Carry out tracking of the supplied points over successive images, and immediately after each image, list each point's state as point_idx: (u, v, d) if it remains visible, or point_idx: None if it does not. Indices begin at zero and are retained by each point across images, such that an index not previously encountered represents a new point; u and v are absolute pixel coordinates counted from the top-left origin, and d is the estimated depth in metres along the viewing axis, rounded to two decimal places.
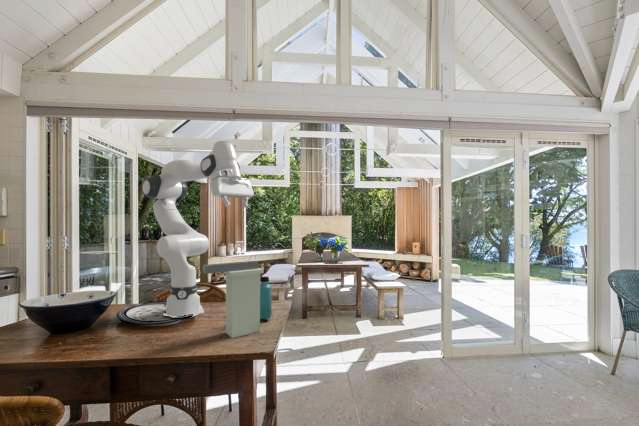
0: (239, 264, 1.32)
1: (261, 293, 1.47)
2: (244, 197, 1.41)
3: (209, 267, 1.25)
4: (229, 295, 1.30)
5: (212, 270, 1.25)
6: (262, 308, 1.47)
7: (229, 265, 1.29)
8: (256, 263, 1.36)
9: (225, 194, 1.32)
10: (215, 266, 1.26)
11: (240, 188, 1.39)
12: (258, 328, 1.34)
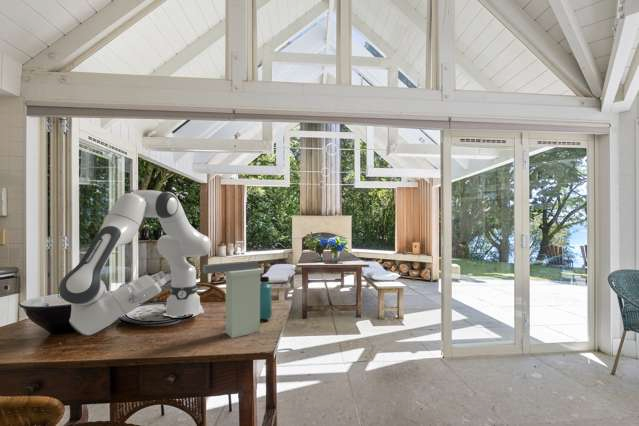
0: (239, 264, 1.32)
1: (261, 293, 1.47)
2: None
3: (209, 267, 1.25)
4: (229, 295, 1.30)
5: (212, 270, 1.25)
6: (262, 308, 1.47)
7: (229, 265, 1.29)
8: (256, 263, 1.36)
9: None
10: (215, 266, 1.26)
11: None
12: (258, 328, 1.34)
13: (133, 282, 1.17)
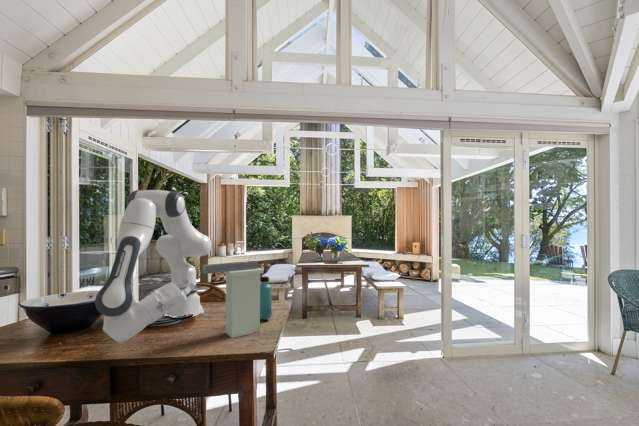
0: (239, 264, 1.32)
1: (261, 293, 1.47)
2: None
3: (209, 267, 1.25)
4: (229, 295, 1.30)
5: (212, 270, 1.25)
6: (262, 308, 1.47)
7: (229, 265, 1.29)
8: (256, 263, 1.36)
9: None
10: (215, 266, 1.26)
11: None
12: (258, 328, 1.34)
13: (159, 290, 1.23)
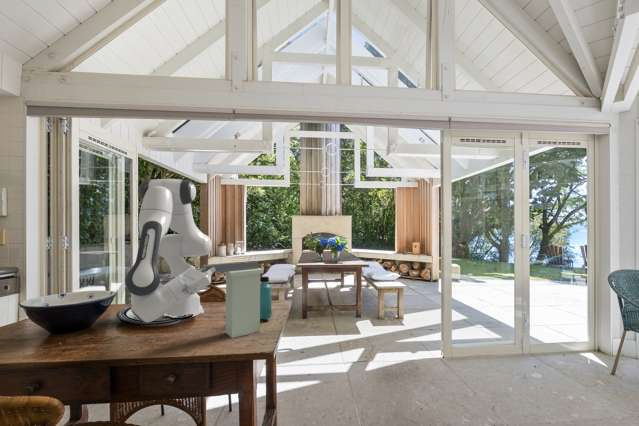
0: (239, 264, 1.32)
1: (261, 293, 1.47)
2: None
3: (209, 267, 1.25)
4: (229, 295, 1.30)
5: None
6: (262, 308, 1.47)
7: (229, 265, 1.29)
8: (256, 263, 1.36)
9: None
10: (215, 266, 1.26)
11: None
12: (258, 328, 1.34)
13: (182, 275, 1.28)
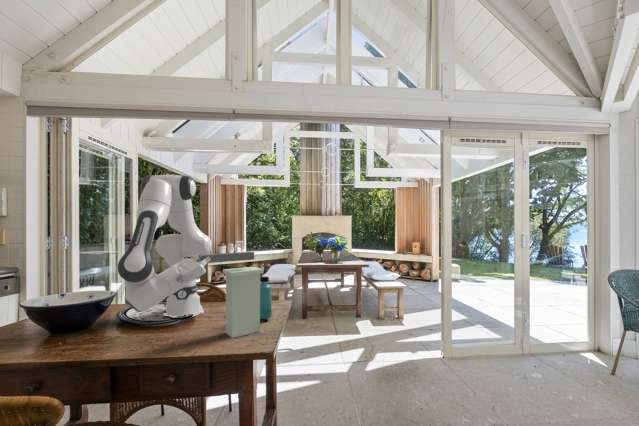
0: (235, 254, 1.31)
1: (261, 293, 1.47)
2: None
3: (205, 257, 1.24)
4: (229, 295, 1.30)
5: None
6: (262, 308, 1.47)
7: (224, 255, 1.28)
8: (252, 254, 1.35)
9: None
10: (210, 256, 1.25)
11: None
12: (258, 328, 1.34)
13: (176, 265, 1.26)
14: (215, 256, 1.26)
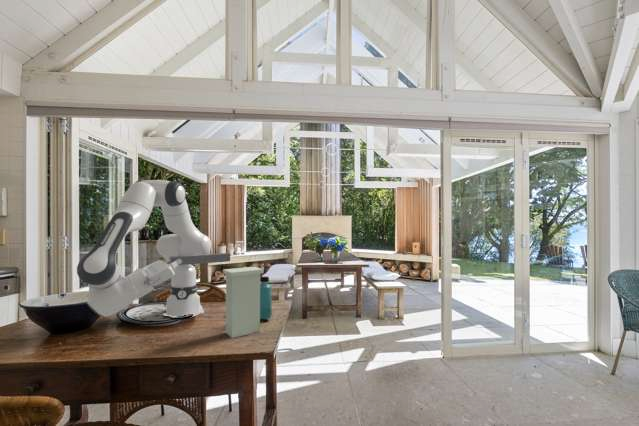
0: (209, 256, 1.25)
1: (261, 293, 1.47)
2: None
3: None
4: (229, 295, 1.30)
5: None
6: (262, 308, 1.47)
7: (198, 257, 1.22)
8: (228, 255, 1.29)
9: None
10: (182, 258, 1.19)
11: None
12: (258, 328, 1.34)
13: (147, 267, 1.20)
14: (187, 258, 1.20)
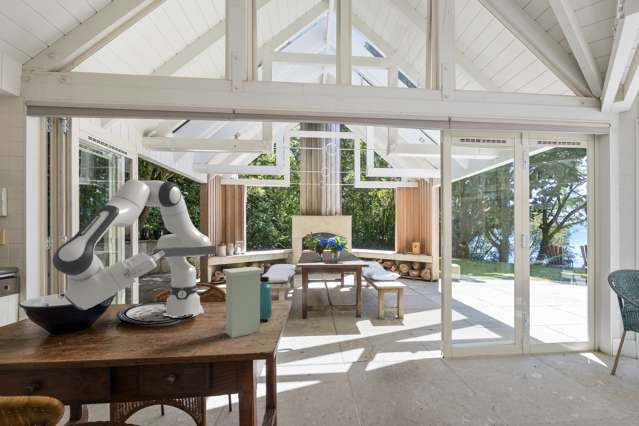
0: (193, 248, 1.21)
1: (261, 293, 1.47)
2: None
3: (158, 251, 1.14)
4: (229, 295, 1.30)
5: None
6: (262, 308, 1.47)
7: (182, 249, 1.19)
8: (213, 248, 1.26)
9: None
10: (165, 250, 1.16)
11: None
12: (258, 328, 1.34)
13: (129, 259, 1.17)
14: (171, 250, 1.17)
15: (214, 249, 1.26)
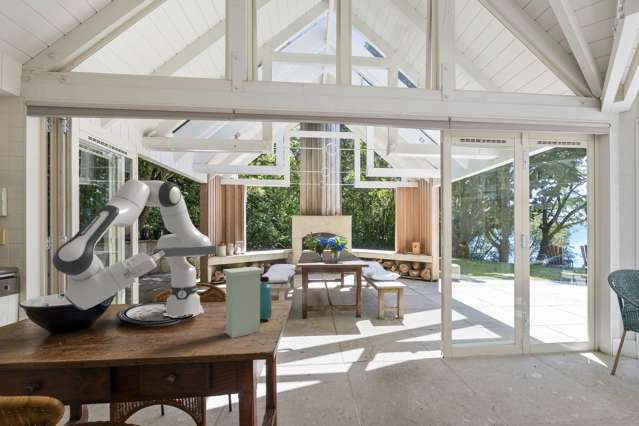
0: (193, 248, 1.21)
1: (261, 293, 1.47)
2: None
3: (158, 251, 1.14)
4: (229, 295, 1.30)
5: None
6: (262, 308, 1.47)
7: (182, 249, 1.19)
8: (213, 248, 1.26)
9: None
10: (165, 250, 1.16)
11: None
12: (258, 328, 1.34)
13: (129, 259, 1.17)
14: (171, 250, 1.17)
15: (214, 249, 1.26)
